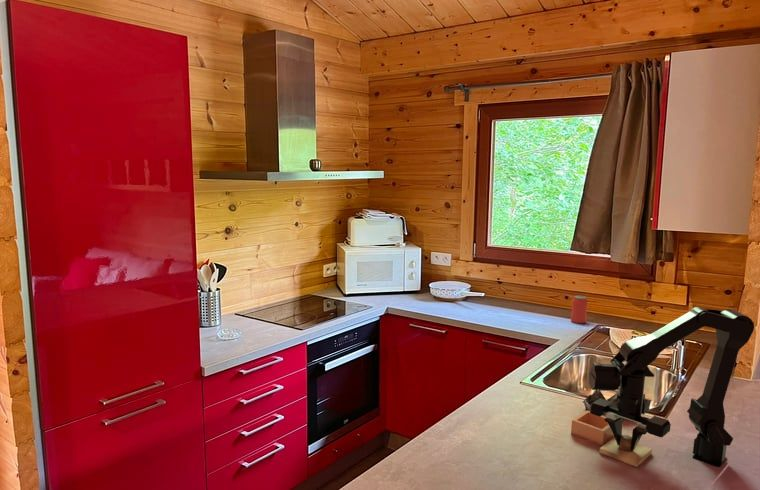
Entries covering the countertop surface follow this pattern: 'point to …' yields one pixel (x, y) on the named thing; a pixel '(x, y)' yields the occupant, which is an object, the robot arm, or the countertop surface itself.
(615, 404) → the foil
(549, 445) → the countertop surface
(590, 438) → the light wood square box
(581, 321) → the beer can
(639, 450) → the lid
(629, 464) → the mat
